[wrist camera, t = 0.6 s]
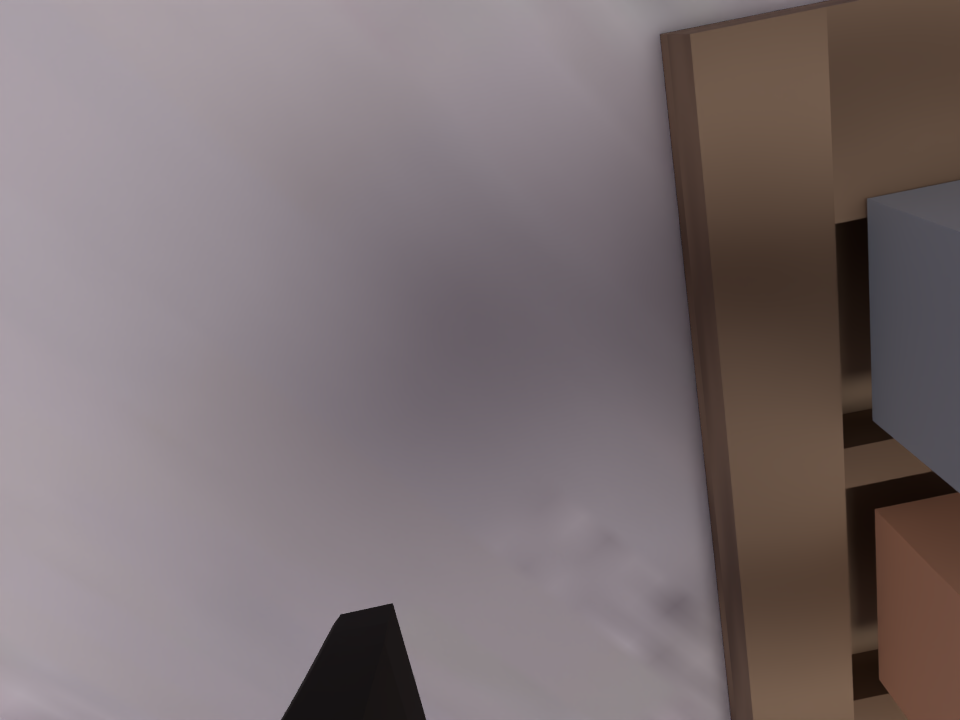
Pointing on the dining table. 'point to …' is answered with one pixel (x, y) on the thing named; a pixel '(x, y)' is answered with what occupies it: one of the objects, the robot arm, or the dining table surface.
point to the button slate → (917, 322)
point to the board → (802, 321)
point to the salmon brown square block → (920, 605)
